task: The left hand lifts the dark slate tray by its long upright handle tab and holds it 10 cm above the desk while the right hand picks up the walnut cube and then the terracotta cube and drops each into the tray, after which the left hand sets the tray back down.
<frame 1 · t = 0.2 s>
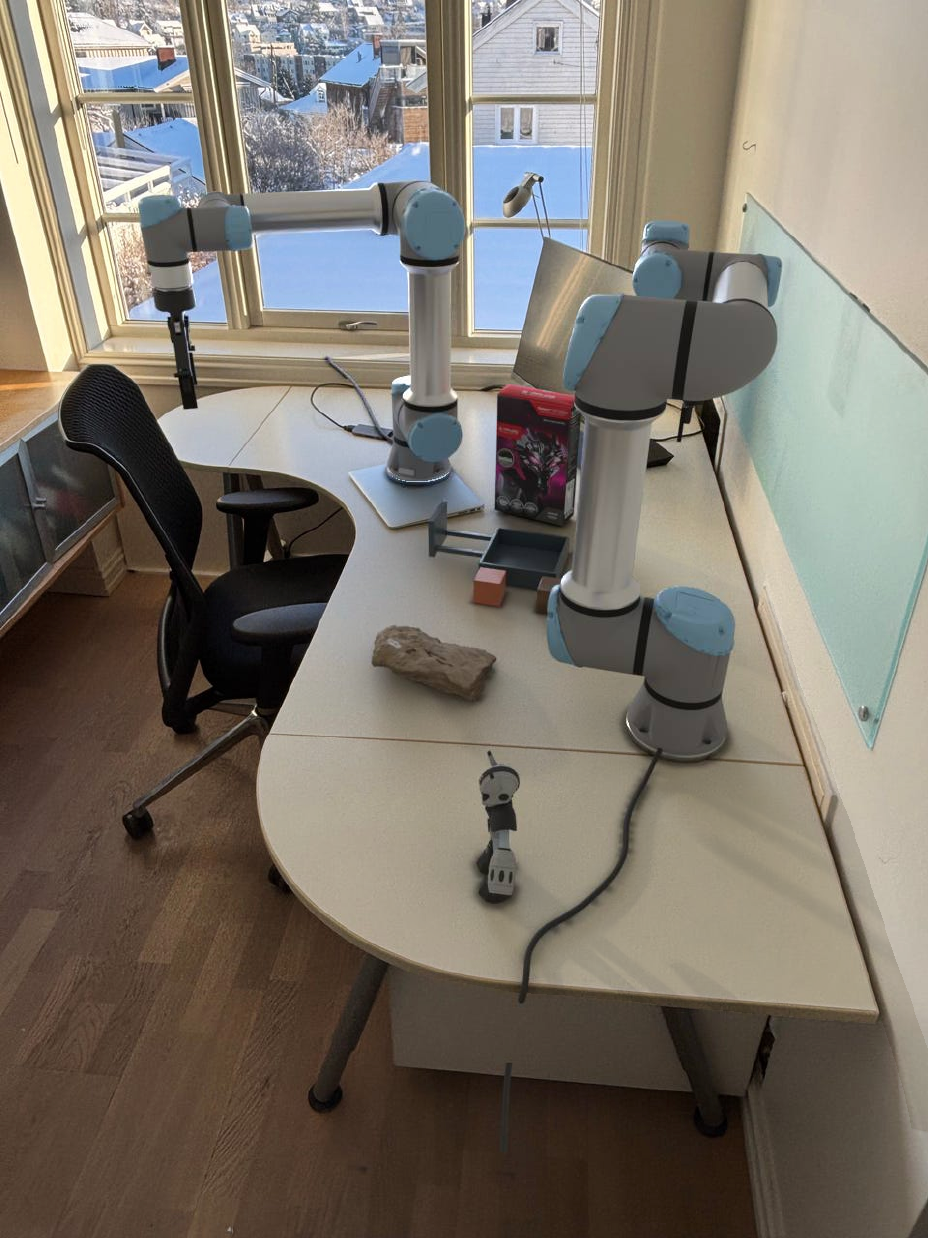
left hand: (190, 396, 184), 28 cm above the table, fingers open, 13 cm apart
right hand: (641, 435, 170), 28 cm above the table, fingers open, 13 cm apart
stone: (428, 674, 155), on the table
walnut cube: (551, 607, 172), on the table
robot: (495, 878, 119), on the table
graphics card box: (533, 514, 203), on the table
tray: (524, 567, 184), on the table
terracotta cube: (489, 598, 175), on the table
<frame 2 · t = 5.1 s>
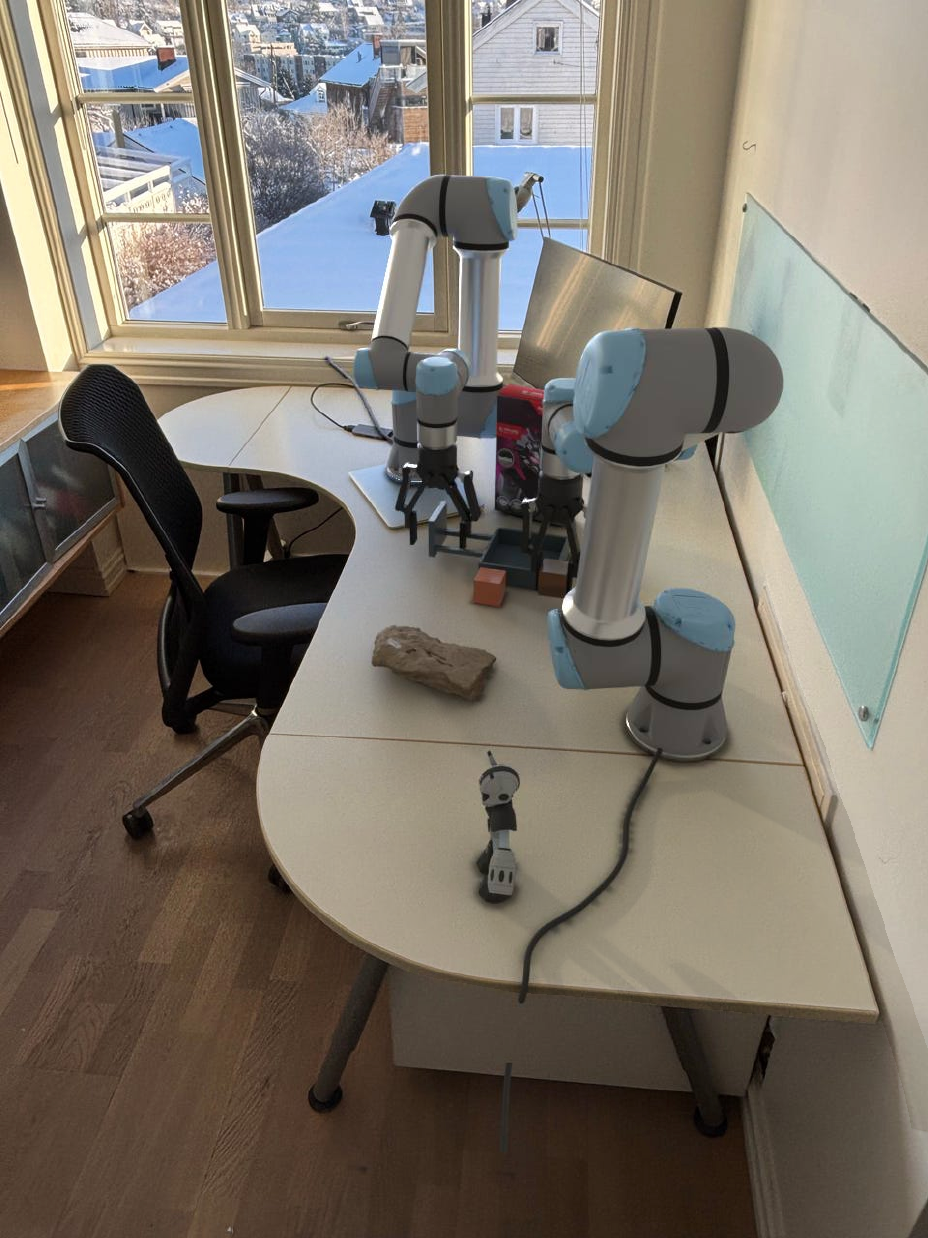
left hand: (438, 545, 187), 2 cm above the table, fingers open, 10 cm apart
right hand: (553, 588, 169), 4 cm above the table, fingers closed on walnut cube, 5 cm apart
walnut cube: (553, 590, 169), point 4 cm above the table, touching right hand
everything else where it was.
when the right hand's fingers open (16 cm above the table, at t = 9.7 s): walnut cube drops 5 cm, resting on tray.
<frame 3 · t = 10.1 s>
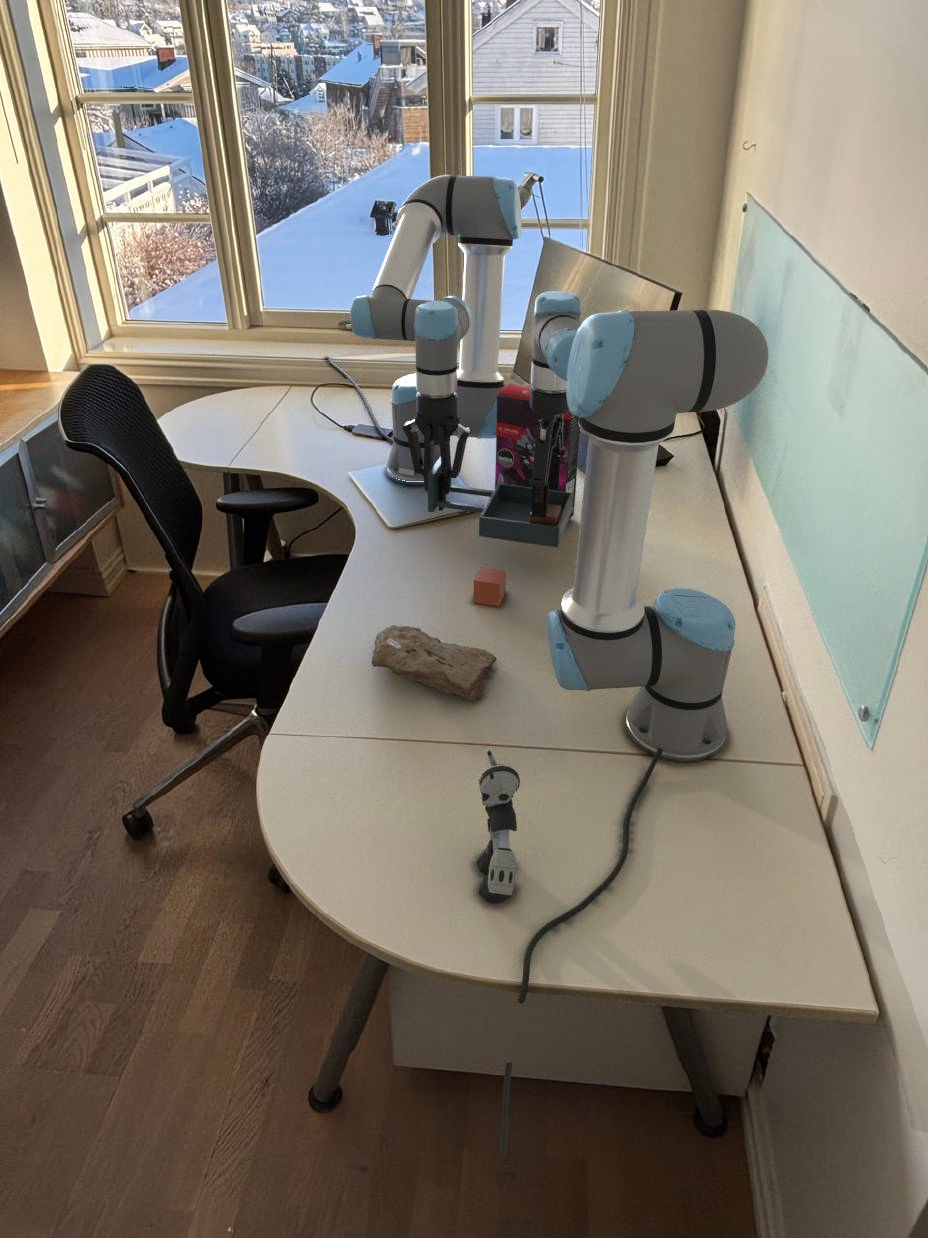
left hand: (437, 506, 182), 11 cm above the table, fingers closed on tray
right hand: (545, 501, 171), 17 cm above the table, fingers open, 11 cm apart
walnut cube: (543, 533, 174), point 10 cm above the table, touching tray
tray: (526, 523, 179), point 10 cm above the table, touching left hand, walnut cube
everything else where it was.
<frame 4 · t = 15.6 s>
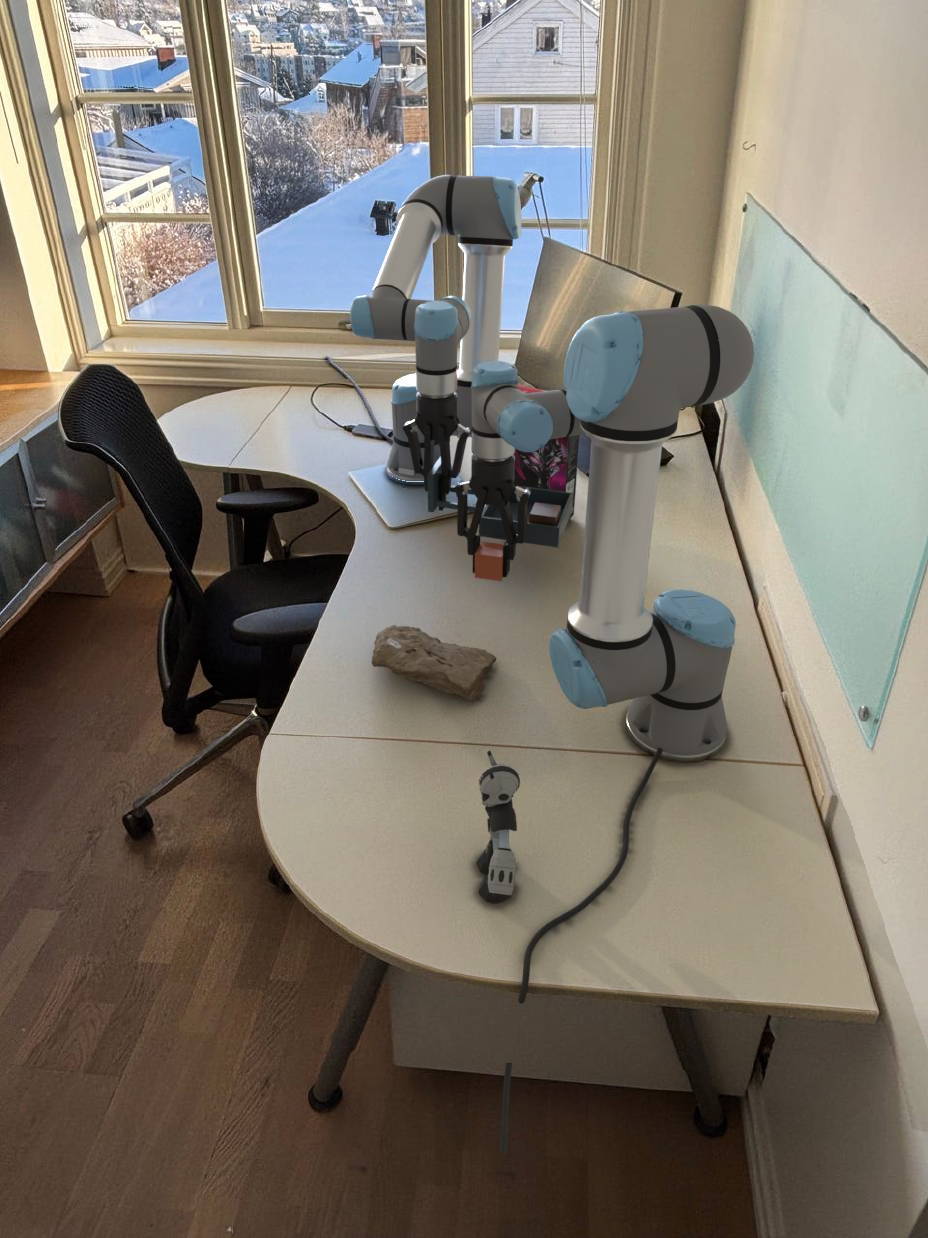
left hand: (437, 506, 182), 11 cm above the table, fingers closed on tray
right hand: (491, 571, 171), 6 cm above the table, fingers closed on terracotta cube, 5 cm apart
tray: (526, 523, 179), point 10 cm above the table, touching left hand, walnut cube
terracotta cube: (491, 572, 171), point 6 cm above the table, touching right hand
everything else where it was.
when the right hand's fingers open (16 cm above the table, at t = 19.2 s): terracotta cube drops 5 cm, resting on tray.
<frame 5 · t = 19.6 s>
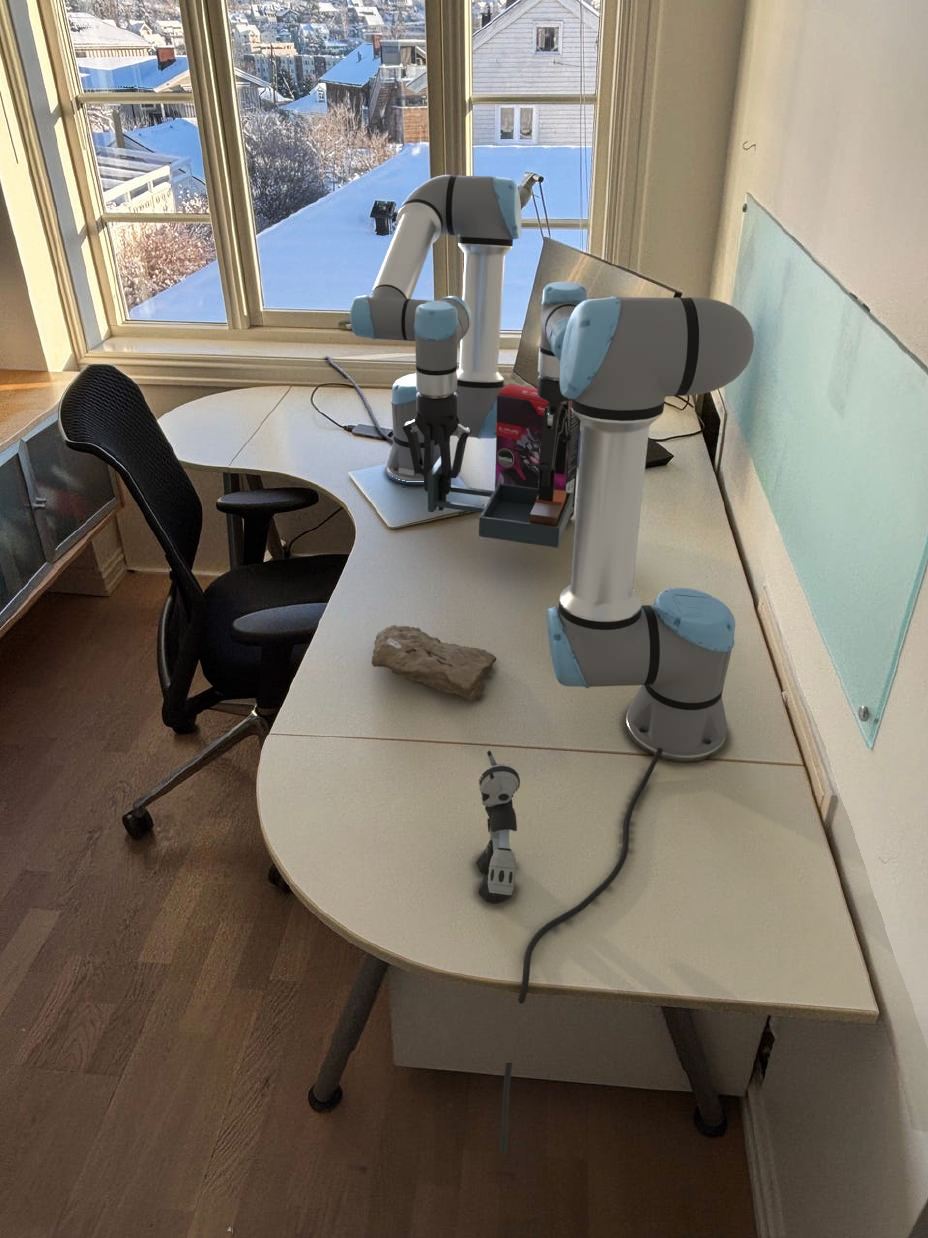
left hand: (437, 506, 182), 11 cm above the table, fingers closed on tray
right hand: (551, 486, 176), 17 cm above the table, fingers open, 11 cm apart
tray: (526, 523, 179), point 10 cm above the table, touching left hand, terracotta cube, walnut cube
terracotta cube: (549, 518, 179), point 10 cm above the table, touching tray
everything else where it was.
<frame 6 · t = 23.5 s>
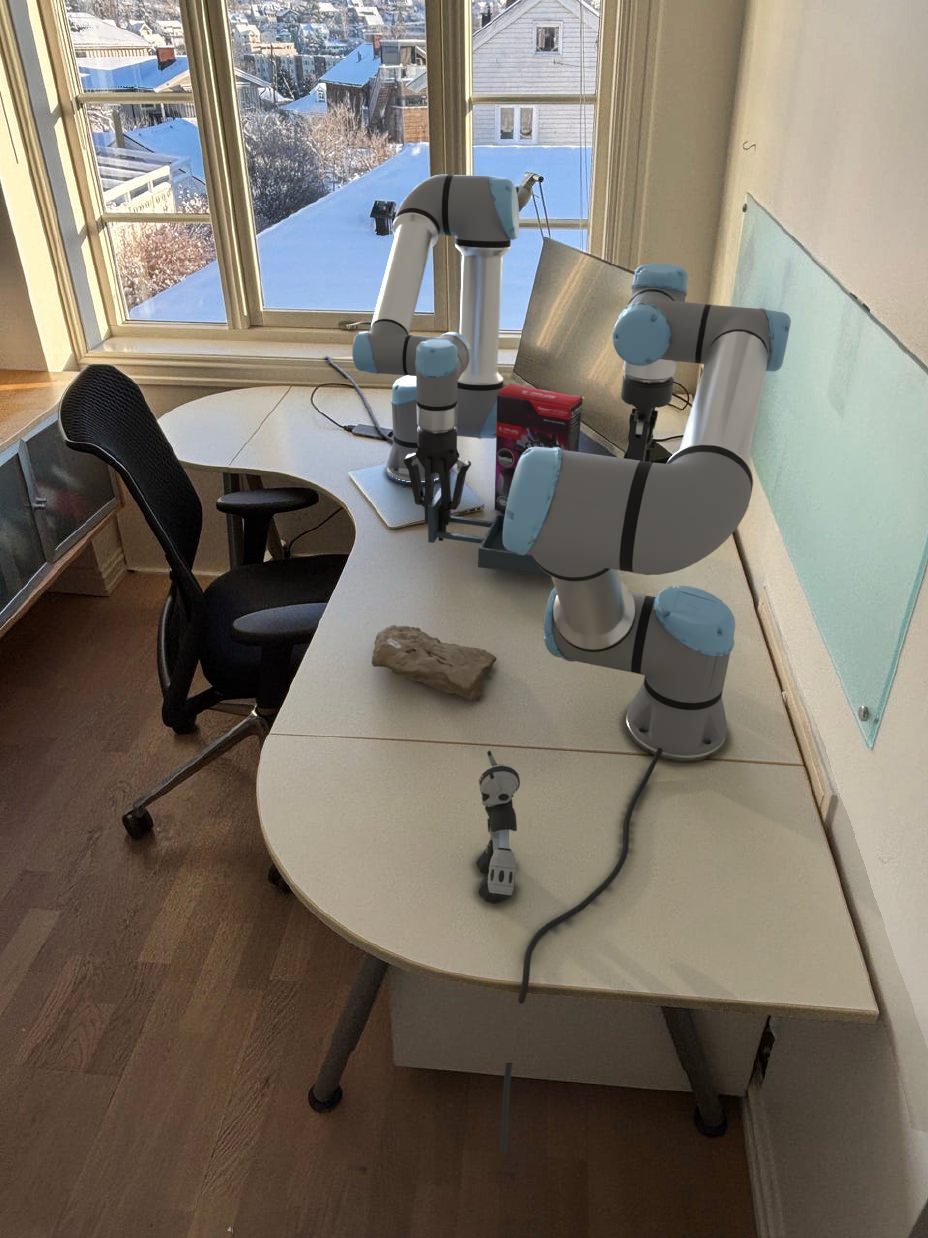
left hand: (437, 536, 186), 4 cm above the table, fingers closed on tray
right hand: (633, 503, 149), 27 cm above the table, fingers open, 13 cm apart
walnut cube: (542, 564, 178), point 4 cm above the table, touching tray
tray: (524, 554, 182), point 3 cm above the table, touching left hand, terracotta cube, walnut cube
terracotta cube: (547, 548, 183), point 4 cm above the table, touching tray
everything else where it was.
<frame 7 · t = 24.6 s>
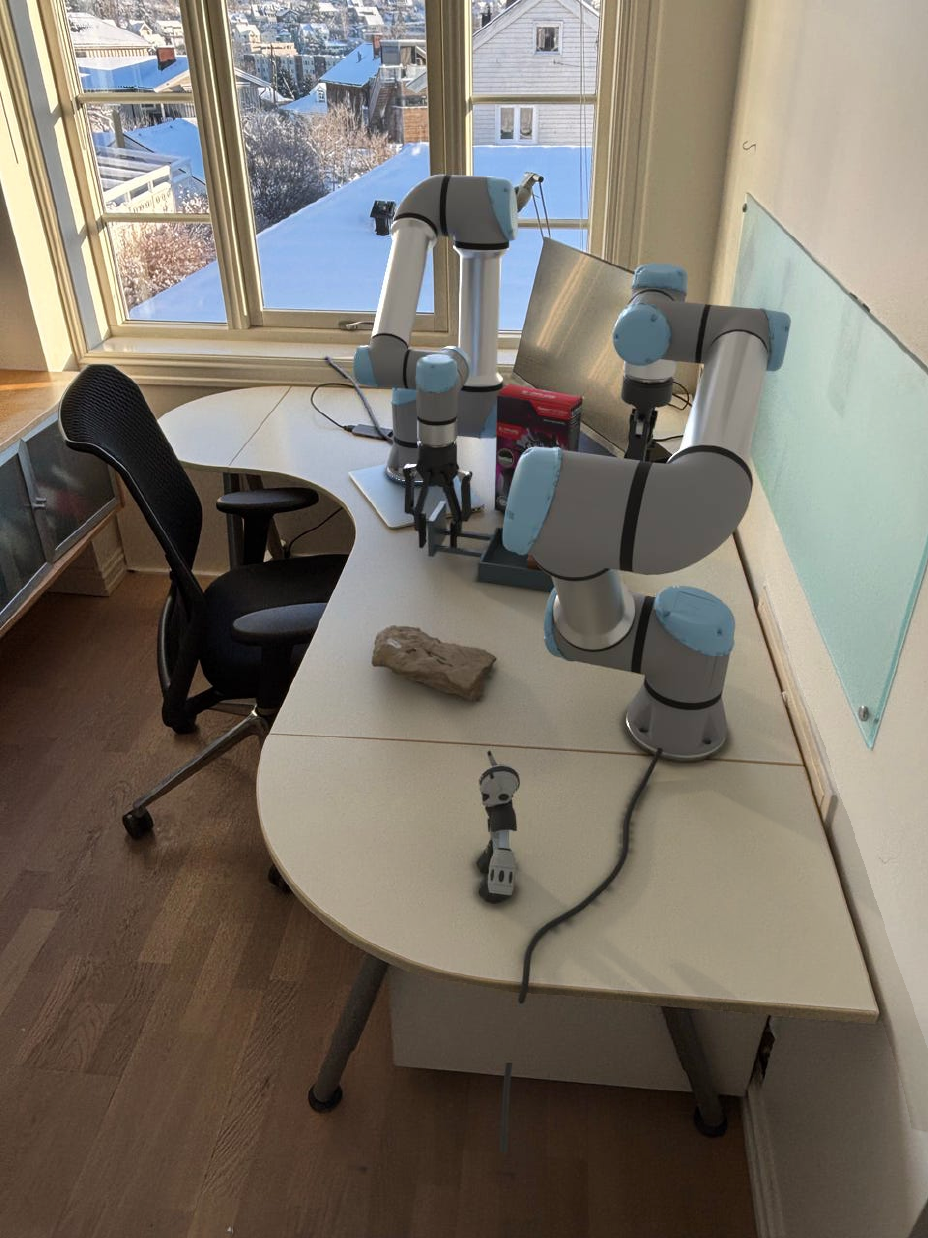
left hand: (438, 546, 187), 2 cm above the table, fingers open, 6 cm apart
right hand: (633, 503, 149), 27 cm above the table, fingers open, 13 cm apart
walnut cube: (541, 577, 180), point 1 cm above the table, touching tray
tray: (523, 567, 184), on the table, touching terracotta cube, walnut cube
terracotta cube: (546, 561, 185), point 1 cm above the table, touching tray
everything else where it was.
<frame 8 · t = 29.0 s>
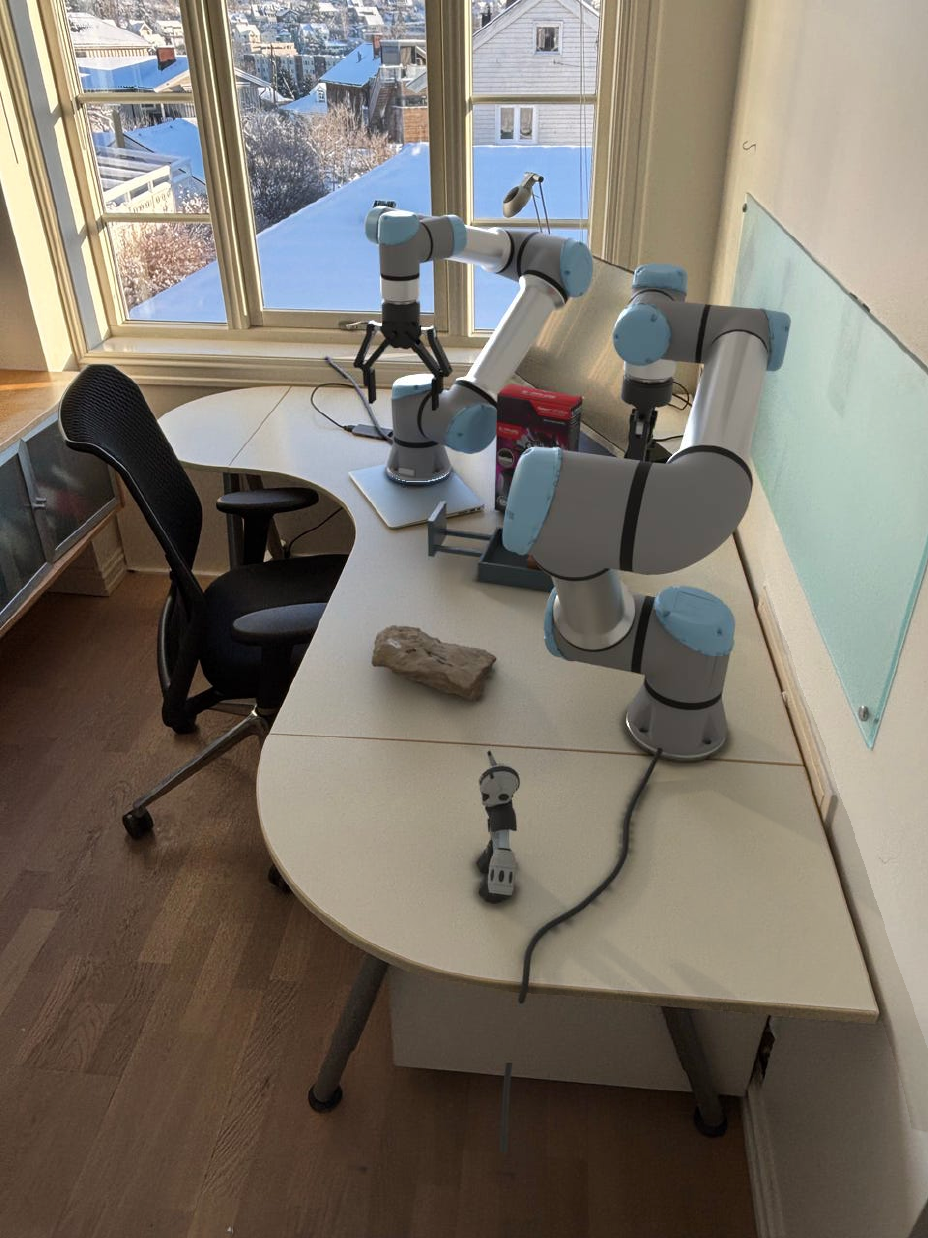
left hand: (403, 405, 190), 25 cm above the table, fingers open, 13 cm apart
right hand: (633, 503, 149), 27 cm above the table, fingers open, 13 cm apart
nothing on the table moved.
at the end: walnut cube inside the target area on the tray (5.9 cm from its centre), point 0.6 cm above the tray's base; terracotta cube inside the target area on the tray (4.8 cm from its centre), point 0.6 cm above the tray's base; the left hand is holding nothing; the right hand is holding nothing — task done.
